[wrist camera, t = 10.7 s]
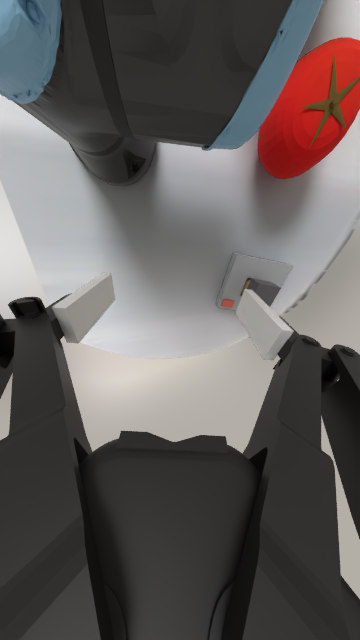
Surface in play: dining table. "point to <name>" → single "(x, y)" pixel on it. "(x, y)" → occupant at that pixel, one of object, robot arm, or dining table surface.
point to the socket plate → (244, 269)
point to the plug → (262, 289)
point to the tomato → (312, 109)
